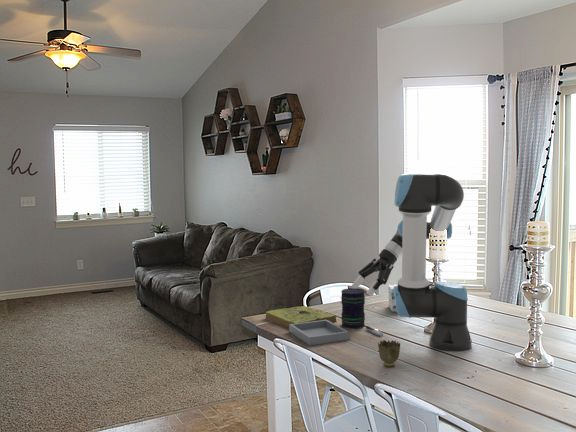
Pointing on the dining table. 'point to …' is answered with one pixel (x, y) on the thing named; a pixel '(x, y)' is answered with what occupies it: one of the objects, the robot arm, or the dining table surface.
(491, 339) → the dining table surface
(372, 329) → the rod
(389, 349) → the cup
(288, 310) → the miniature landscape model
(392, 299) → the light bulb box
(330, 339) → the tray
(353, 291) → the storage jar
